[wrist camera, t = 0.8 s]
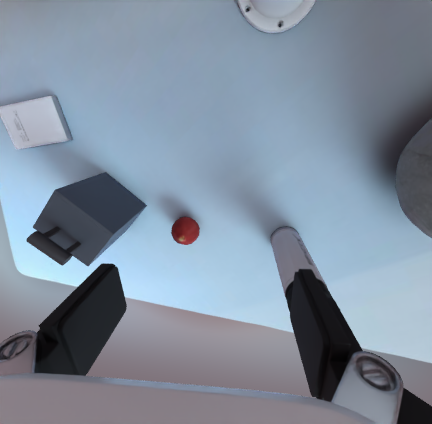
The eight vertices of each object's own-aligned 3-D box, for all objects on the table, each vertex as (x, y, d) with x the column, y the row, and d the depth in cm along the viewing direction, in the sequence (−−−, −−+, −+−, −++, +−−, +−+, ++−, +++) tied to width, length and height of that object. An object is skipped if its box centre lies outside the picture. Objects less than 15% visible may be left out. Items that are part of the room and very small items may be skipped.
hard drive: (73, 140, 45) (22, 149, 46) (57, 96, 42) (3, 107, 43) (67, 140, 43) (15, 149, 45) (50, 94, 40) (-6, 106, 42)
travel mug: (277, 255, 50) (300, 333, 31) (265, 233, 48) (282, 301, 30) (304, 245, 48) (344, 321, 30) (293, 221, 46) (328, 286, 28)
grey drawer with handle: (26, 199, 29) (3, 241, 32) (95, 249, 31) (68, 284, 34) (105, 172, 46) (86, 200, 49) (146, 205, 48) (125, 231, 51)
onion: (188, 238, 51) (179, 258, 43) (171, 221, 49) (159, 238, 42) (207, 225, 49) (201, 243, 41) (190, 206, 47) (181, 221, 40)
